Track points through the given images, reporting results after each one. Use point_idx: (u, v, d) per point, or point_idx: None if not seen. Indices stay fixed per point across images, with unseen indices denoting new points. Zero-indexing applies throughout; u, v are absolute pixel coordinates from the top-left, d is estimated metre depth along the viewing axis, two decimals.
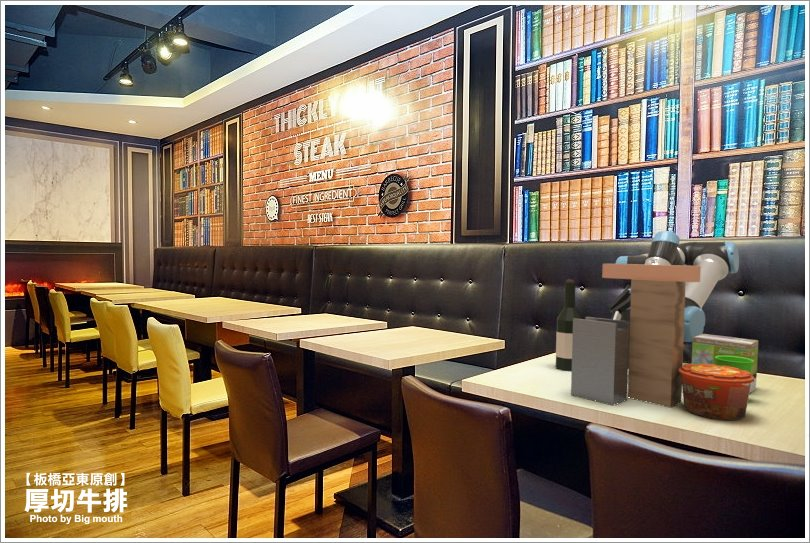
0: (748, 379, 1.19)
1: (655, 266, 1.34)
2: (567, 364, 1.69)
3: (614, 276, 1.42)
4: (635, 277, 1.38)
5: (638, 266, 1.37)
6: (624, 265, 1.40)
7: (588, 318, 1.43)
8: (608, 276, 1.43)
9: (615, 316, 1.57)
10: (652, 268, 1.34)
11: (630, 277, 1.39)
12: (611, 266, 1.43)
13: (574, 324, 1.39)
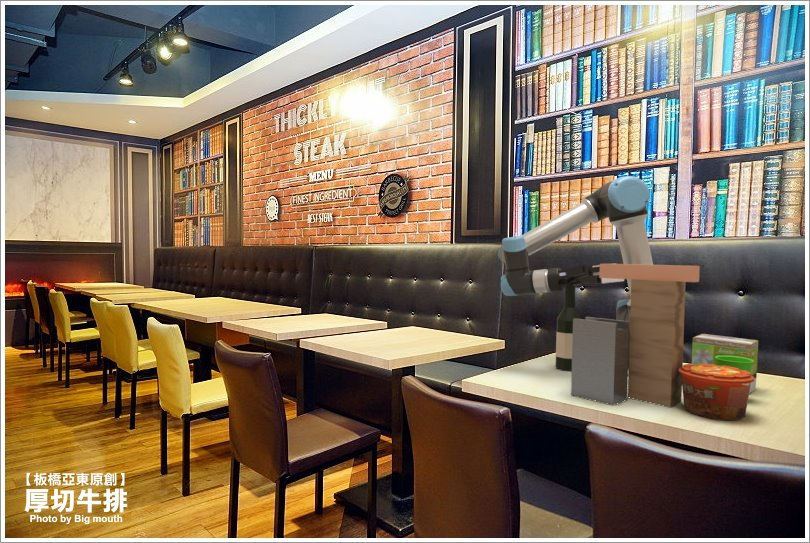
0: (748, 379, 1.19)
1: (654, 266, 1.34)
2: (567, 364, 1.69)
3: (612, 276, 1.41)
4: (634, 277, 1.37)
5: (637, 266, 1.37)
6: (622, 265, 1.39)
7: (588, 318, 1.43)
8: (605, 276, 1.42)
9: (608, 282, 1.61)
10: (651, 268, 1.34)
11: (628, 277, 1.38)
12: (609, 266, 1.42)
13: (574, 324, 1.39)
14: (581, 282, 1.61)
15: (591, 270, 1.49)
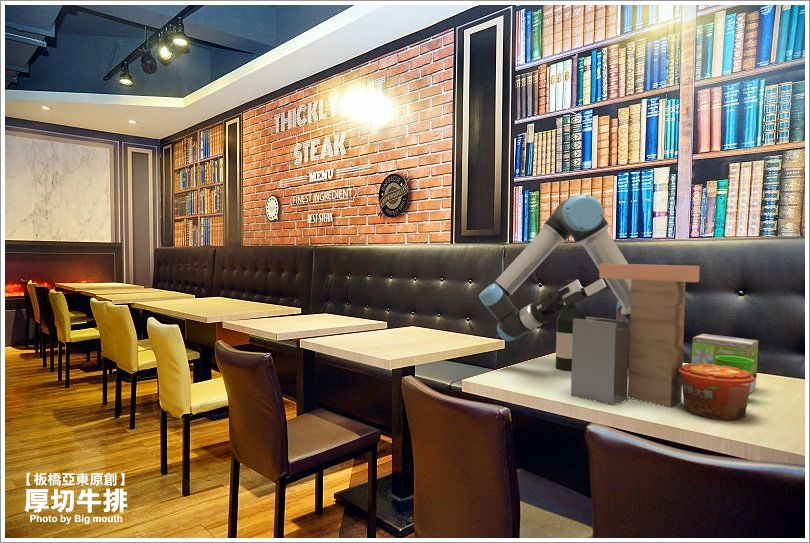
0: (748, 379, 1.19)
1: (654, 266, 1.34)
2: (567, 364, 1.69)
3: (612, 276, 1.41)
4: (634, 277, 1.37)
5: (637, 266, 1.37)
6: (622, 265, 1.39)
7: (588, 318, 1.43)
8: (605, 276, 1.42)
9: (593, 293, 1.56)
10: (651, 268, 1.34)
11: (628, 277, 1.38)
12: (609, 266, 1.42)
13: (574, 324, 1.39)
14: (567, 303, 1.58)
15: (558, 295, 1.48)
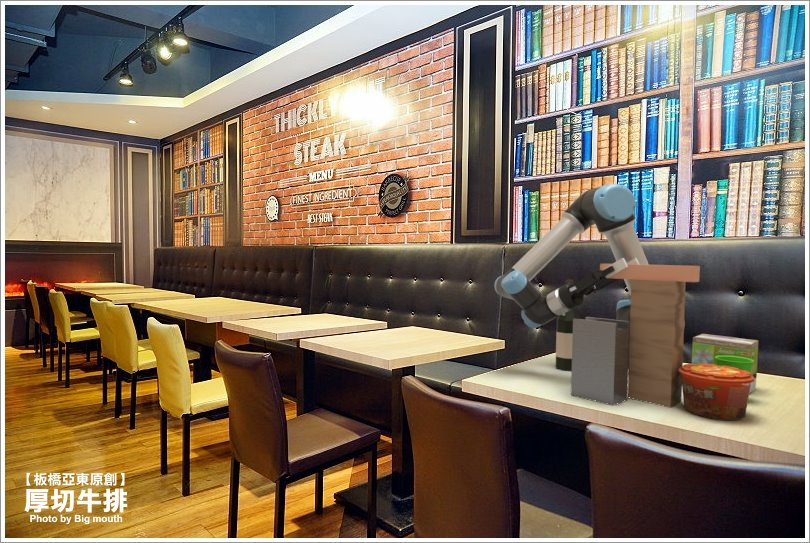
0: (748, 379, 1.19)
1: (654, 266, 1.34)
2: (567, 364, 1.69)
3: (612, 276, 1.41)
4: (634, 277, 1.37)
5: (637, 266, 1.37)
6: None
7: (588, 318, 1.43)
8: None
9: None
10: (651, 268, 1.34)
11: (629, 277, 1.38)
12: None
13: (574, 324, 1.39)
14: (596, 287, 1.50)
15: (602, 274, 1.41)
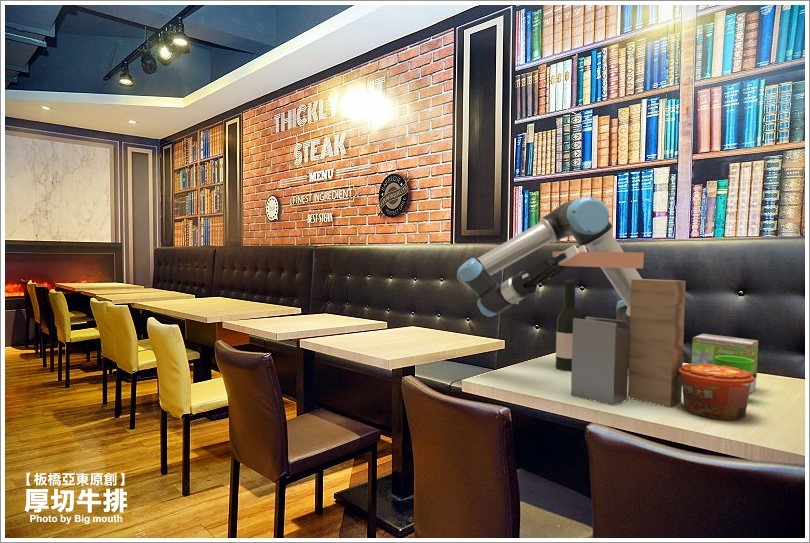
0: (748, 379, 1.19)
1: (600, 253, 1.35)
2: (567, 364, 1.69)
3: (563, 263, 1.43)
4: (582, 264, 1.39)
5: (585, 253, 1.38)
6: None
7: (588, 318, 1.43)
8: None
9: None
10: (597, 255, 1.35)
11: (577, 264, 1.40)
12: None
13: (574, 324, 1.39)
14: (547, 275, 1.51)
15: (554, 261, 1.43)
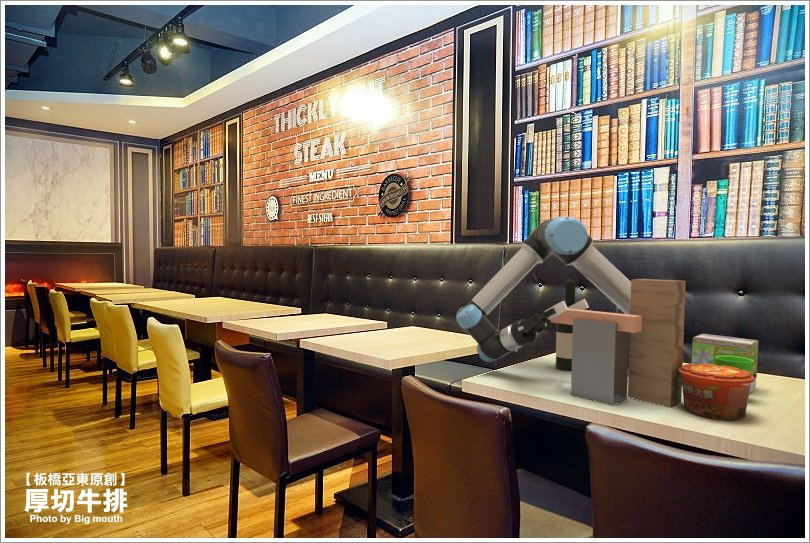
0: (748, 379, 1.19)
1: (599, 314, 1.35)
2: (567, 364, 1.69)
3: (561, 321, 1.44)
4: None
5: (583, 313, 1.39)
6: (570, 311, 1.42)
7: None
8: (556, 321, 1.45)
9: None
10: (596, 316, 1.36)
11: None
12: None
13: (574, 324, 1.39)
14: (548, 325, 1.52)
15: (543, 316, 1.42)
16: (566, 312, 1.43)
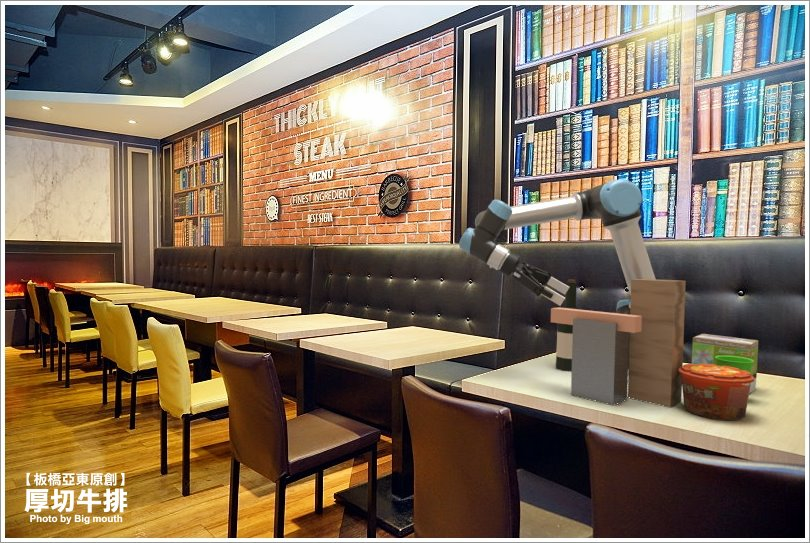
0: (748, 379, 1.19)
1: (599, 314, 1.35)
2: (566, 364, 1.69)
3: (561, 321, 1.44)
4: None
5: (583, 313, 1.39)
6: (570, 311, 1.42)
7: None
8: (556, 321, 1.45)
9: (552, 286, 1.64)
10: (596, 316, 1.36)
11: None
12: (559, 311, 1.44)
13: (574, 324, 1.39)
14: None
15: (541, 292, 1.51)
16: (566, 312, 1.43)
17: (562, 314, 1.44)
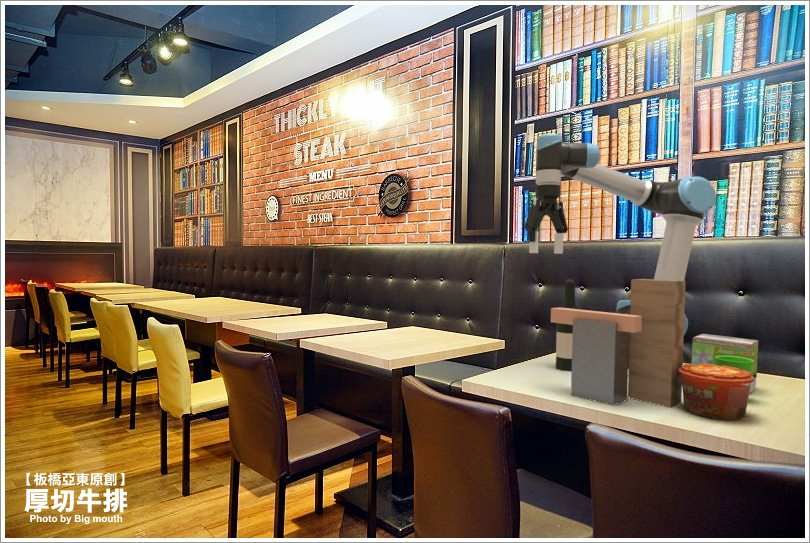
0: (748, 379, 1.19)
1: (599, 314, 1.35)
2: (566, 364, 1.69)
3: (561, 321, 1.44)
4: None
5: (583, 313, 1.39)
6: (570, 311, 1.42)
7: None
8: (556, 321, 1.45)
9: None
10: (596, 316, 1.36)
11: None
12: (559, 311, 1.44)
13: (574, 324, 1.39)
14: (549, 215, 1.63)
15: (530, 230, 1.55)
16: (566, 312, 1.43)
17: (562, 314, 1.44)
